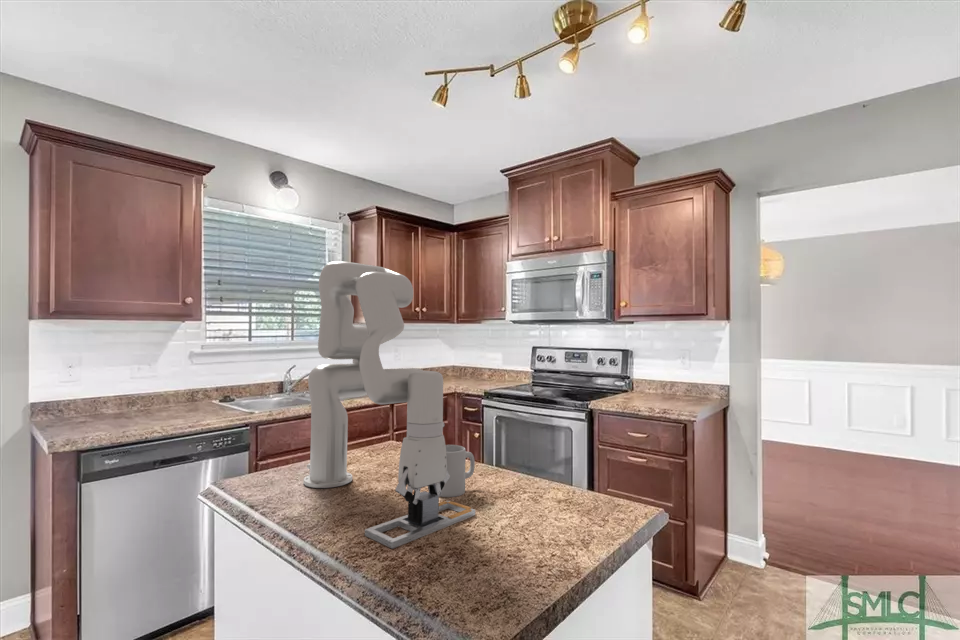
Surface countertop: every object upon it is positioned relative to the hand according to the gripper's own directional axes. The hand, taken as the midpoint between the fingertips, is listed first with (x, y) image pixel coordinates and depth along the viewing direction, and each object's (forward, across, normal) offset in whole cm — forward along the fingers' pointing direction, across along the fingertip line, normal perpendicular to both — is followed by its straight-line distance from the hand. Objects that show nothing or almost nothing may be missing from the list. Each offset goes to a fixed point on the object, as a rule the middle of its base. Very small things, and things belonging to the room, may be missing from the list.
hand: (423, 517), depth 99 cm
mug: (+2, -20, -11) cm, 23 cm away
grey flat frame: (+2, 0, 0) cm, 2 cm away
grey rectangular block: (+2, 0, 0) cm, 2 cm away
